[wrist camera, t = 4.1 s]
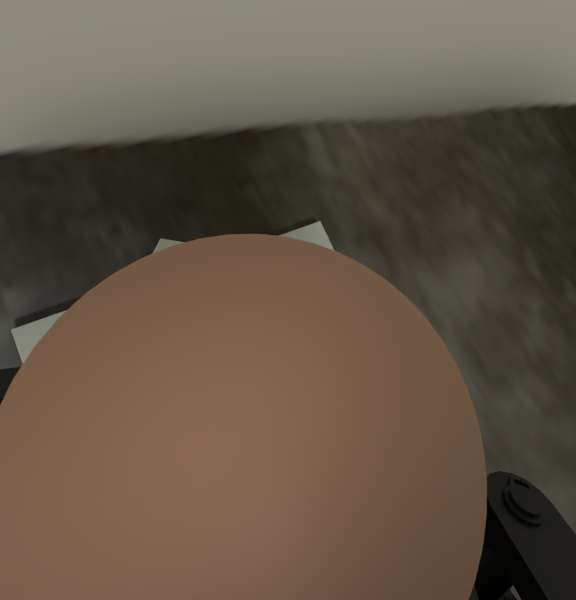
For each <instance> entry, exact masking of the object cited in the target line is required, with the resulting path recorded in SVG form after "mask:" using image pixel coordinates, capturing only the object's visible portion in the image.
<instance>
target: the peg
mask: <svg viewBox="0 0 576 600" xmlns="http://www.w3.org/2000/svg"><path fill="white" fill-rule="evenodd" d="M486 516H487V477H486V466H485V456H484V448H483V443H482V438H481V433H480V428H479V423H478V419H477V416H476V413H475V410H474V407H473V404H472V400H471V397H470V394H469V391H468V389H467V387H466V384H465V382H464V380H463V378H462V375H461V373H460V371H459V369H458V366H457V364H456V363H455V361H454V359H453V357H452V356H451V354H450V352H449V351H448V349H447V347H446V345H445V344H444V342H443V340H442V339H441V338H440V336H439V335H438V334H437V332H436V331H435V329H434V328H433V327H432V325H431V324H430V323H429V321H428V320H427V319H426V317H425V316H424V315H423V314H422V313H421V312H420V311H419V310H418V309H417V308H416V307H415V306H414V305H413V303H412V302H411V301H410V300H409V299H408V298H407V297H406V296H405V295H403V294H402V293H401V292H400V291H399V290H398V289H396V288H395V287H394V286H393V285H392V284H390V283H389V282H388V281H387V280H386V279H384V278H383V277H381V276H380V275H378V274H377V273H375V272H374V271H372V270H371V269H369V268H368V267H366V266H365V265H363V264H361V263H359V262H357V261H355V260H353V259H351V258H349V257H347V256H345V255H343V254H341V253H339V252H337V251H334V250H331V249H328V248H326V247H323V246H320V245H317V244H315V243H311V242H307V241H302V240H298V239H294V238H290V237H283V236H274V235H265V234H229V235H221V236H214V237H207V238H200V239H196V240H193V241H189V242H185V243H181V244H177V245H174V246H170V247H168V248H165V249H163V250H160V251H158V252H155V253H153V254H150V255H148V256H145V257H143V258H141V259H139V260H137V261H135V262H133V263H132V264H130V265H128V266H126V267H124V268H123V269H121V270H119V271H117V272H115V273H113V274H112V275H110V276H109V277H108V278H106V279H105V280H104V281H102V282H101V283H99V284H98V285H97V286H95V287H94V288H92V289H91V290H90V291H88V292H87V293H85V294H84V295H83V296H82V297H81V298H80V299H79V300H78V301H77V302H76V303H74V304H73V305H72V306H71V307H70V308H69V309H68V310H67V311H66V312H65V313H64V314H63V315H61V316H60V317H59V318H58V319H57V321H56V322H55V323H54V324H53V325H52V326H51V328H50V329H49V330H48V331H47V332H46V334H45V335H44V336H43V337H42V338H41V339H40V341H39V342H38V343H37V344H36V345H35V346H34V348H33V349H32V351H31V353H30V354H29V356H28V357H27V359H26V360H25V362H24V363H23V365H22V366H21V368H20V369H19V371H18V372H17V374H16V375H15V377H14V378H13V380H12V382H11V384H10V386H9V388H8V390H7V392H6V394H5V397H4V399H3V401H2V403H1V405H0V600H469V597H470V594H471V592H472V589H473V586H474V583H475V579H476V575H477V571H478V566H479V562H480V558H481V553H482V549H483V541H484V533H485V524H486Z"/></svg>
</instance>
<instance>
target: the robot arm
mask: <svg viewBox="0 0 576 600" xmlns="http://www.w3.org/2000/svg"><path fill="white" fill-rule="evenodd" d="M181 243H185V242H179V241H173V240H167V239H161V238H160V240H159V242H158V244H157V246H156V248H155V250H154V251H153V253H155V252H158V251H160V250H163V249H165V248H168V247H170V246H174V245H177V244H181ZM153 253H152V254H153ZM20 368H21V367H17V368H8V369H1V370H0V405H1V403H2V401H3V399H4V397H5V394H6V392H7V390H8V388H9V386H10V384H11V382H12V380H13V378H14V377H15V375H16V374H17V372H18V371H19V369H20ZM513 585H514V587H515V589H516V591H517V592H518V594H519V596H520V598H521V600H576V535H575V533H574V532H573V531H572V529H571V528H570V527H569V525H568V524H567V523H566V521H565V520H564V519H563V517H562V516H561V515H560V513H559V512H558V511H557V509H556V508H555V507H554V505H553V504H552V503H551V502H550V501H549V500H548V499H547V498H546V496H545V495H544V494H543V493H542V492H541V491H540V490H539V489H537V488H536V487H535V486H533V485H532V484H531V483H529V482H528V481H527V480H525V479H523V478H521V477H518V476H516V475H514V474H512V473H507V472H501V471H498V472H494V473H490V474H489V475H488V477H487V516H486V524H485V533H484V541H483V549H482V553H481V558H480V562H479V566H478V571H477V575H476V579H475V583H474V586H473V589H472V592H471V594H470V597H469V600H517V599H516V598H515V597H514V595H513V594H512V592H511V591H510V588H511V587H512V586H513Z"/></svg>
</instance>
